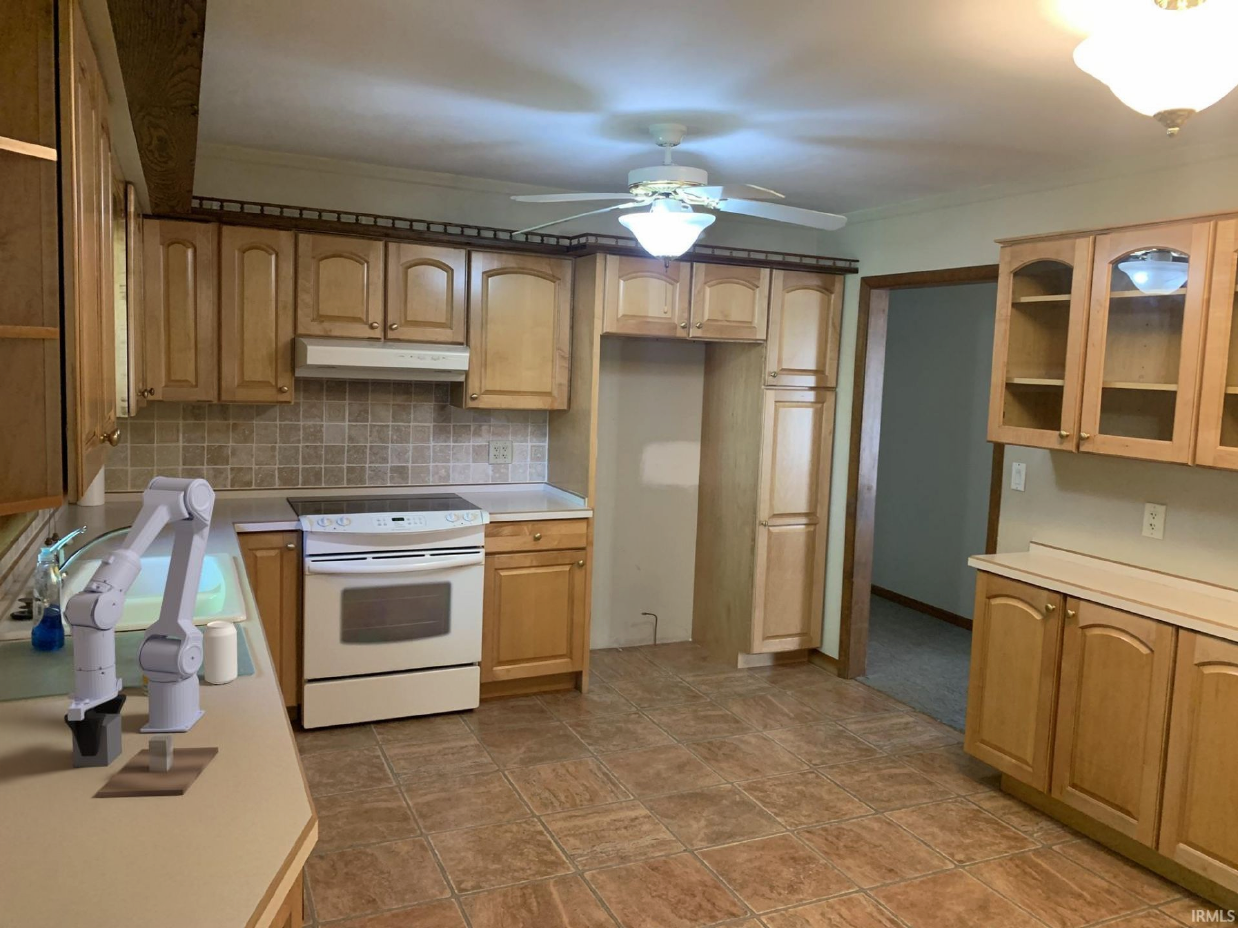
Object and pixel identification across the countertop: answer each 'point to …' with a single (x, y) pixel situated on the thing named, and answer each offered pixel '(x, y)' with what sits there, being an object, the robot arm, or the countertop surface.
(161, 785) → the flat brown plate
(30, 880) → the countertop surface
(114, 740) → the gray rectangular prism
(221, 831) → the countertop surface
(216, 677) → the beverage can
